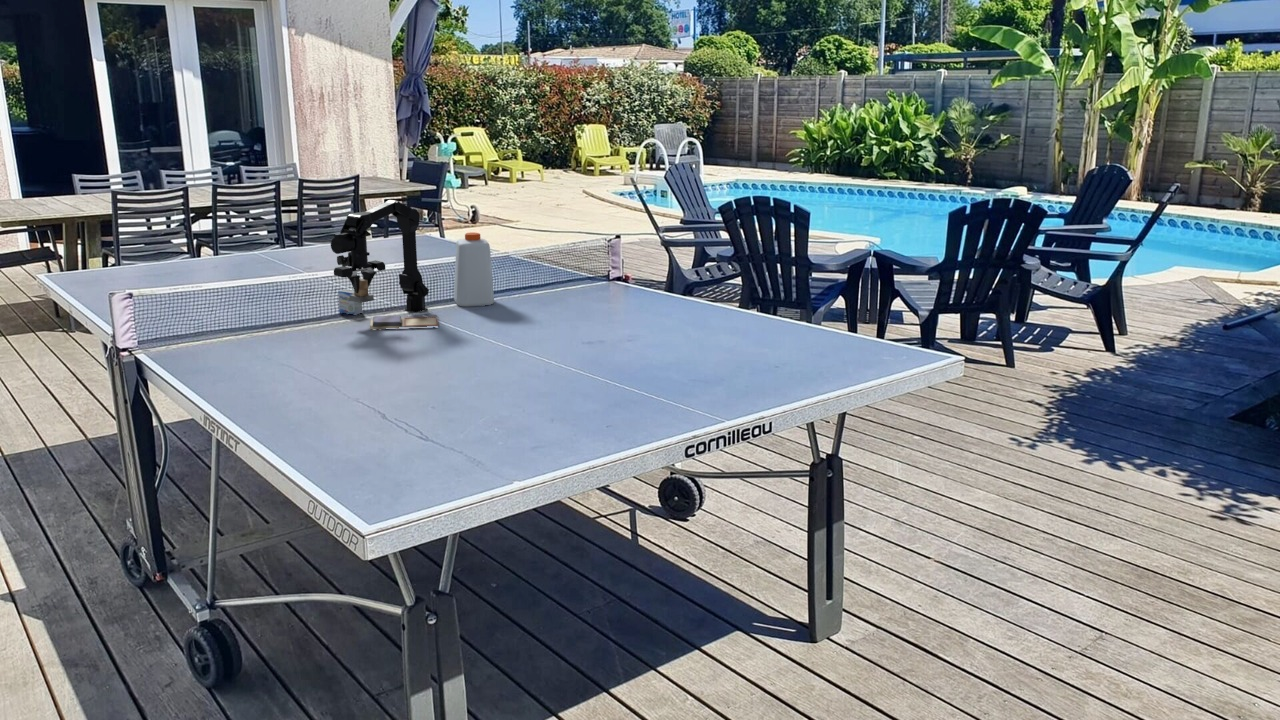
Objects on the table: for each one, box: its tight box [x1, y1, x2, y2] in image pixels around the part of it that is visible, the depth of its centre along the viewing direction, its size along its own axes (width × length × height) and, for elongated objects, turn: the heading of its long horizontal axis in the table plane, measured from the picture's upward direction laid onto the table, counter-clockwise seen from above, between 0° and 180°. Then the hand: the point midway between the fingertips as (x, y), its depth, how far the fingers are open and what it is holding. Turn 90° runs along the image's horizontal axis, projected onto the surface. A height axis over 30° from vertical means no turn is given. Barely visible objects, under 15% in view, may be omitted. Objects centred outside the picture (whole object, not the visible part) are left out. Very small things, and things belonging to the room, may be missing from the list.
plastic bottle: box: [453, 231, 495, 308], centre depth 400 cm, size 15×15×28 cm
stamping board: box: [369, 315, 439, 330], centre depth 367 cm, size 24×12×2 cm, turn 103°
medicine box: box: [337, 288, 363, 314], centre depth 381 cm, size 8×4×9 cm, turn 62°
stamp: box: [349, 278, 375, 304], centre depth 363 cm, size 6×6×8 cm
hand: (361, 292), depth 363 cm, fingers closed on stamp, 3 cm apart
